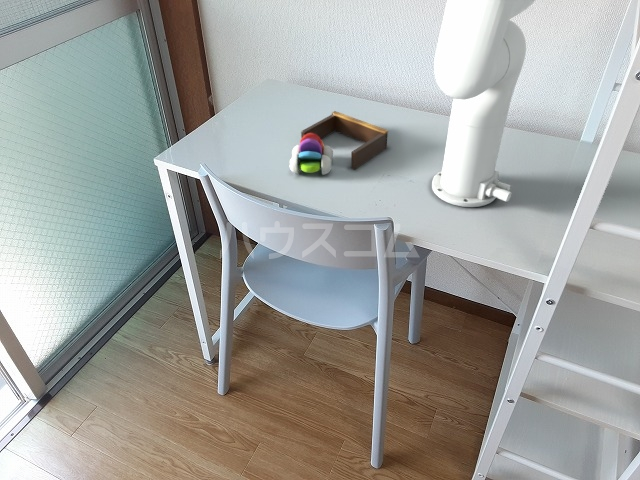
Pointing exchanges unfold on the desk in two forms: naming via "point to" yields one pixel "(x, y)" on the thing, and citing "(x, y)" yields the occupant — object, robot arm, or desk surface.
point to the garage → (353, 135)
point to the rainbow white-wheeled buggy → (311, 155)
